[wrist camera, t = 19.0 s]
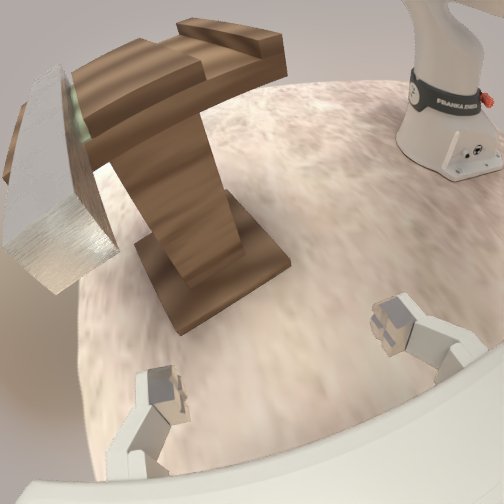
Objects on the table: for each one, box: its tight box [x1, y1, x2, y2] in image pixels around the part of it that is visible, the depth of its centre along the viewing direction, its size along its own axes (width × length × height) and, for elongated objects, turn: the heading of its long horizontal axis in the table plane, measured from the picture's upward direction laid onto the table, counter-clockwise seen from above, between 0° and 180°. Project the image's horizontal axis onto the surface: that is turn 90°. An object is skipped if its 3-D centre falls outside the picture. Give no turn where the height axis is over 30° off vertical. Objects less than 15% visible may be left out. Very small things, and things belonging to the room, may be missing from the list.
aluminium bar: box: [2, 63, 120, 295], centre depth 16 cm, size 26×3×3 cm, turn 32°
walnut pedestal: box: [2, 18, 291, 336], centre depth 31 cm, size 16×20×28 cm
